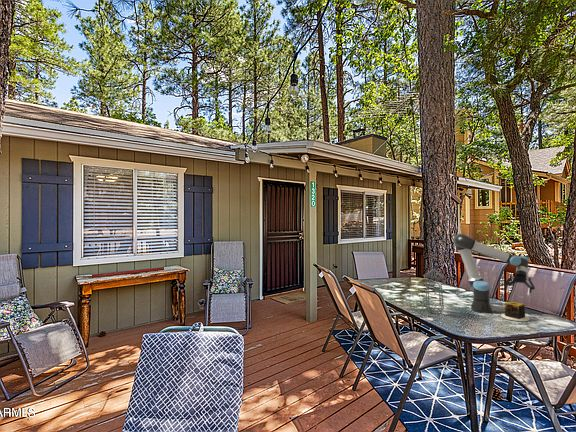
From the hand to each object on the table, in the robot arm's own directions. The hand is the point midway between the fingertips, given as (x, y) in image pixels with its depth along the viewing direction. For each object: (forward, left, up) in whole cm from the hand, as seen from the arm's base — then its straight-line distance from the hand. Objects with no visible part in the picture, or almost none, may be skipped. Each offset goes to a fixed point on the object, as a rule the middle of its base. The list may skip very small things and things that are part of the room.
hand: (517, 294), depth 257 cm
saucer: (+3, -9, -17) cm, 19 cm away
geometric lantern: (-38, -48, -17) cm, 64 cm away
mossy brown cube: (+3, -9, -16) cm, 18 cm away
